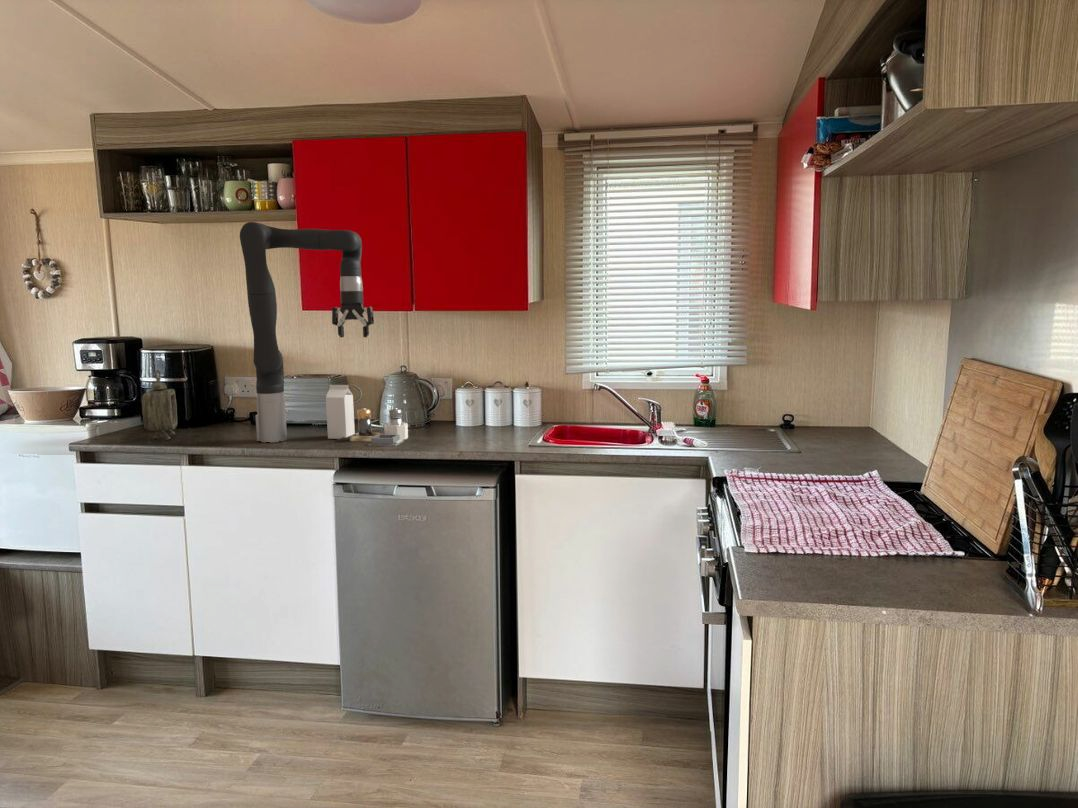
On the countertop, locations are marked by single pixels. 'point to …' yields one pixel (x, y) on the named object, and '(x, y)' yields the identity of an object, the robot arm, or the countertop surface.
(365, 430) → the cell
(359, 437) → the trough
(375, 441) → the grey flat block
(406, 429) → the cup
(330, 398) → the milk carton
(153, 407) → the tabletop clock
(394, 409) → the cell
